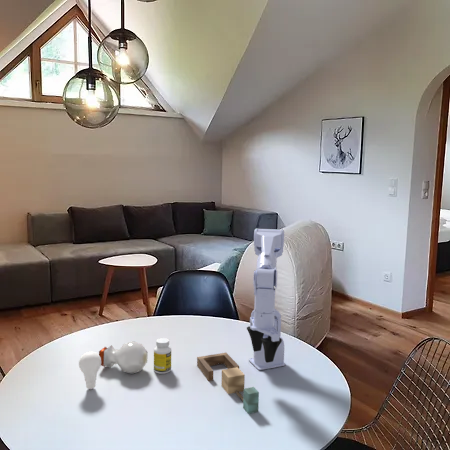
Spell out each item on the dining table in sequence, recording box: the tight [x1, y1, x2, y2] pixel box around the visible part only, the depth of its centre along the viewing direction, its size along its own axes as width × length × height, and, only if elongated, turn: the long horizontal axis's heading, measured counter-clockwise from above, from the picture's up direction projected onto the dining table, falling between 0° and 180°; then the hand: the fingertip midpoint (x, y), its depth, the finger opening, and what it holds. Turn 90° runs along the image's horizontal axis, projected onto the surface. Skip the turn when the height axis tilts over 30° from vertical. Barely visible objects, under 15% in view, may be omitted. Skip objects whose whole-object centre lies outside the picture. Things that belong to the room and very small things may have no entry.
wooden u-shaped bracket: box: [196, 352, 240, 382], centre depth 142 cm, size 10×10×3 cm
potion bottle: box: [98, 340, 148, 375], centre depth 141 cm, size 9×10×15 cm
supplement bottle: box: [153, 337, 172, 375], centre depth 141 cm, size 5×5×10 cm
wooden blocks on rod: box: [221, 367, 260, 414], centre depth 126 cm, size 5×16×6 cm, turn 22°
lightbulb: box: [78, 351, 102, 390], centre depth 129 cm, size 6×6×11 cm
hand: (263, 356), depth 130 cm, fingers open, 7 cm apart
